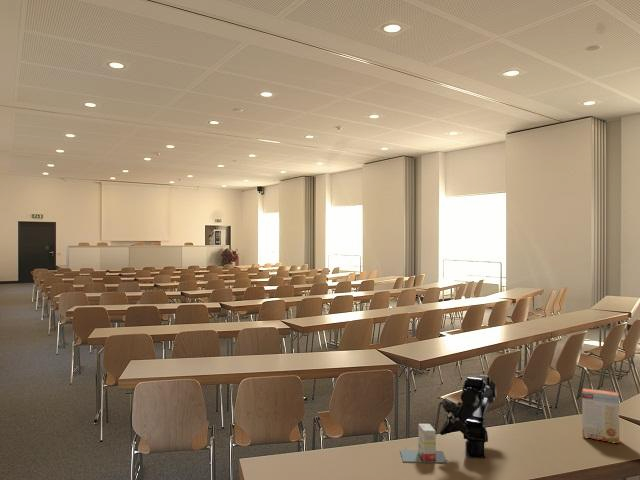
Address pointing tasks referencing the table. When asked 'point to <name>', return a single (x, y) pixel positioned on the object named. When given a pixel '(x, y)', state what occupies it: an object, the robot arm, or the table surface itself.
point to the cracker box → (600, 415)
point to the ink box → (427, 442)
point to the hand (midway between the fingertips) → (440, 434)
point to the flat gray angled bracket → (415, 458)
